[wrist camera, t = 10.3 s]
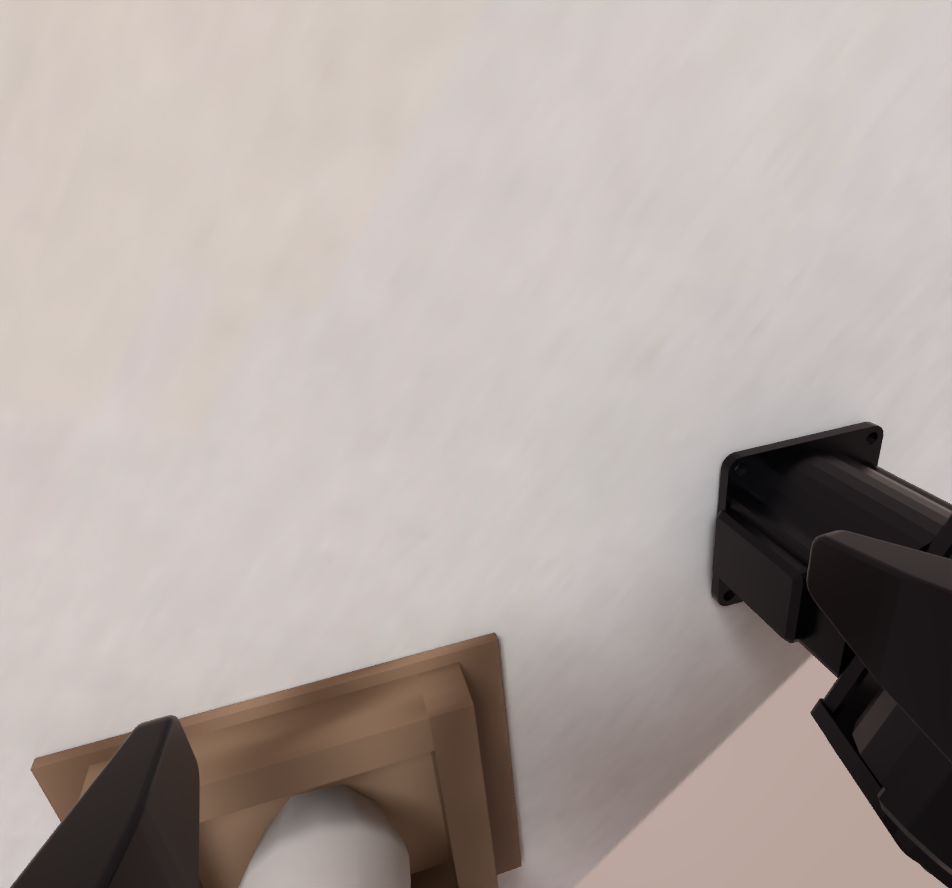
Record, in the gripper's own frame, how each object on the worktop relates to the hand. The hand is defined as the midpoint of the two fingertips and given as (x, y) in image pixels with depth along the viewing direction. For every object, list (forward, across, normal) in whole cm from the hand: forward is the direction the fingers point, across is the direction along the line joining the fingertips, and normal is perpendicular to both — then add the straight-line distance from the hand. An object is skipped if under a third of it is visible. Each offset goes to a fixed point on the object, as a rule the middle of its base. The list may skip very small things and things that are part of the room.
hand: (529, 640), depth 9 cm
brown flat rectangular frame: (+11, +6, +16) cm, 20 cm away
